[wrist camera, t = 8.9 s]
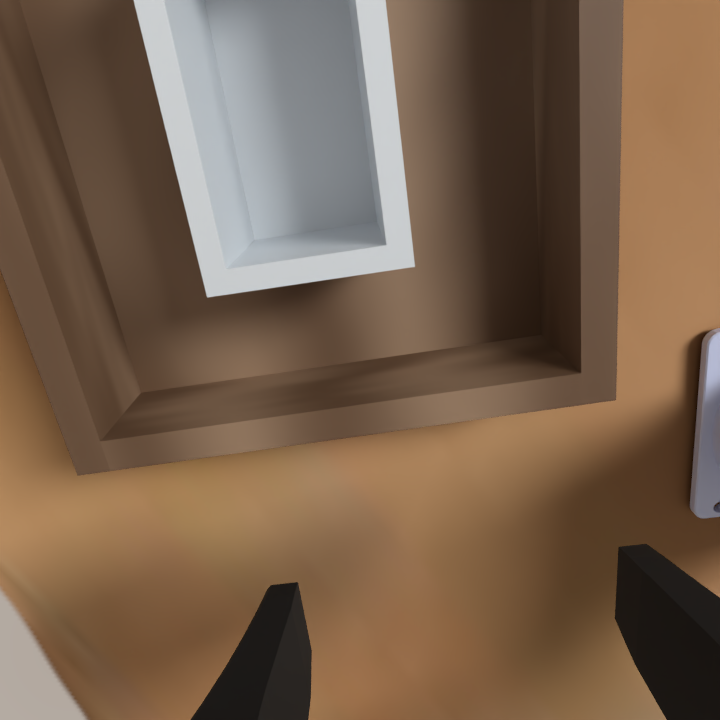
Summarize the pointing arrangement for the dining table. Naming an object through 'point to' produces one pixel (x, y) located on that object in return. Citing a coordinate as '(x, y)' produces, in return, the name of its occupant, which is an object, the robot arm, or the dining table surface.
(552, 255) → the walnut crate
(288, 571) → the dining table surface
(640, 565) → the robot arm
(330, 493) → the dining table surface
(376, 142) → the box
